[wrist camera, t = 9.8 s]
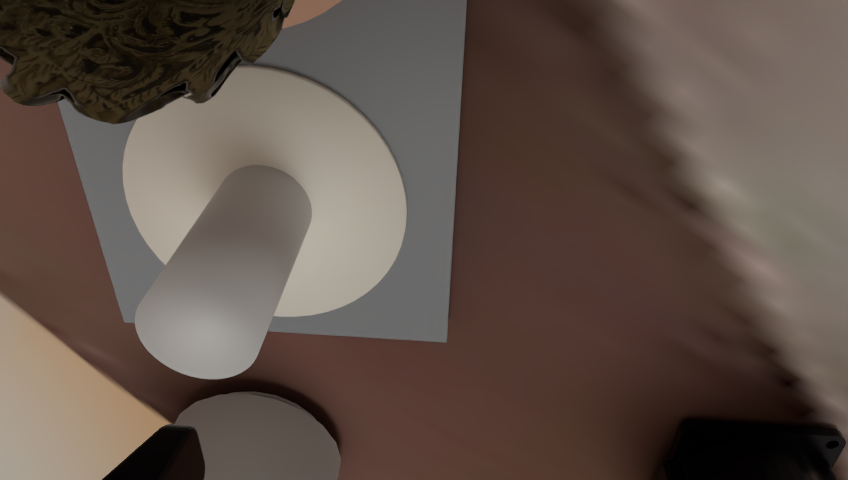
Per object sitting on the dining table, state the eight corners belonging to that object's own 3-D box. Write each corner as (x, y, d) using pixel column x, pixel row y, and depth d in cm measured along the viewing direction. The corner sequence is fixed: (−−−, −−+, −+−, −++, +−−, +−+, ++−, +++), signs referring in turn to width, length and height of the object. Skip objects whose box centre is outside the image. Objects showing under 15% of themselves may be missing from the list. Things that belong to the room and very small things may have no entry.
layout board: (495, -481, 13) (515, -756, 7) (447, 320, 25) (438, 494, 18) (-84, -487, 13) (-567, -750, 7) (138, 301, 25) (26, 464, 19)
